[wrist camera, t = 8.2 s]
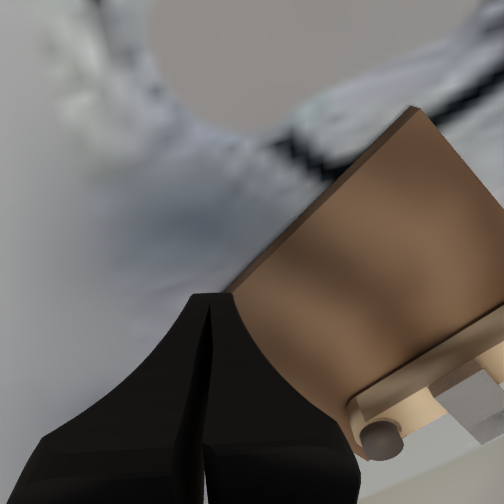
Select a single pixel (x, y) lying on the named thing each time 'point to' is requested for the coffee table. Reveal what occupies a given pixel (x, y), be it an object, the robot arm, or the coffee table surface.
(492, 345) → the link
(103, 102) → the coffee table surface
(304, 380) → the board
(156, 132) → the coffee table surface
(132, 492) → the robot arm
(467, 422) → the keeper
